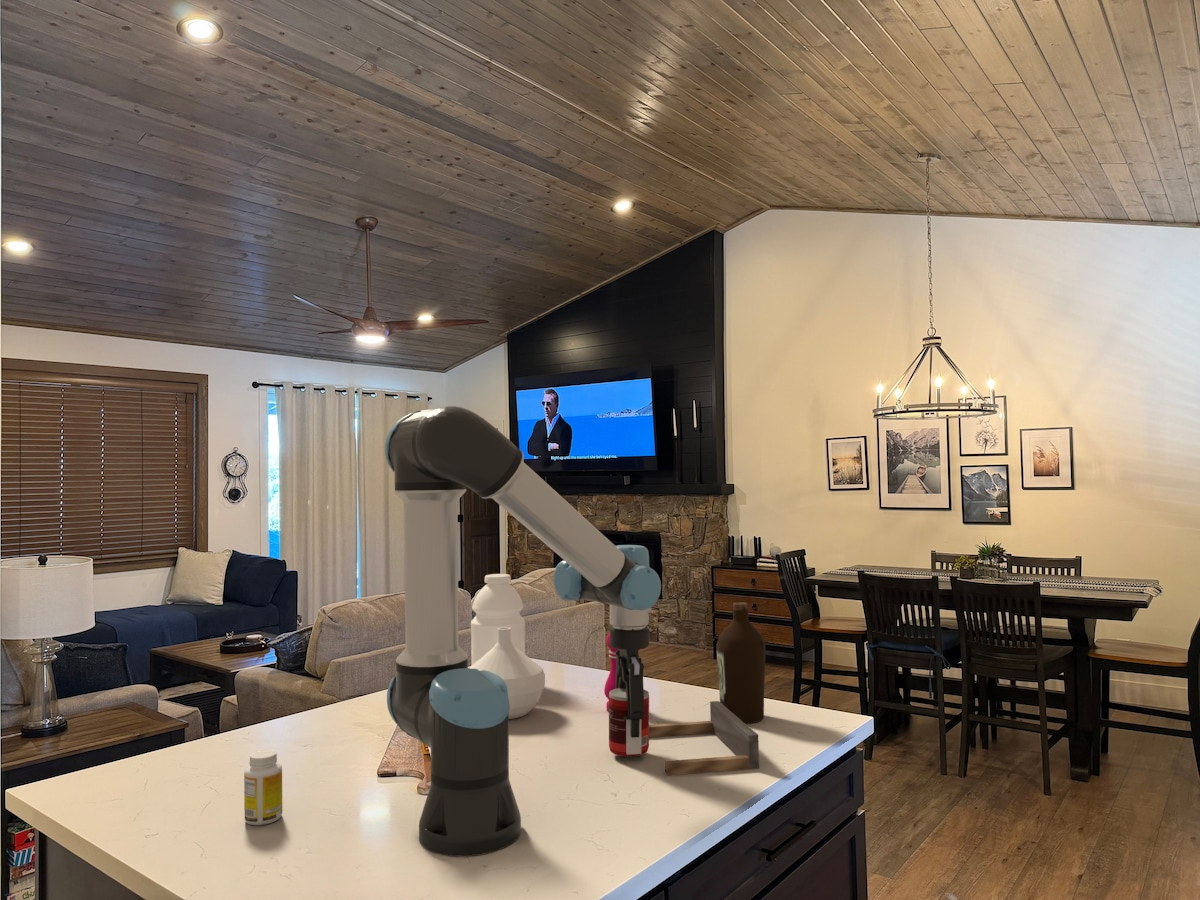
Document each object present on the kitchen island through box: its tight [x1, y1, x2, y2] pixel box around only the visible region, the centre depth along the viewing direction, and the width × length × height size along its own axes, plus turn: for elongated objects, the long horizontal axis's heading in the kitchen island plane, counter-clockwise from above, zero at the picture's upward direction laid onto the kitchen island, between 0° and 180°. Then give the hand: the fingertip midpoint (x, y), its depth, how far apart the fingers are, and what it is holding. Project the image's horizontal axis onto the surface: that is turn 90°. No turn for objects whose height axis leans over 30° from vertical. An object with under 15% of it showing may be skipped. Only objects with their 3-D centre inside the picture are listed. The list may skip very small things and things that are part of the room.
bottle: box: [470, 573, 526, 666], centre depth 213 cm, size 14×14×28 cm
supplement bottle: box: [243, 749, 283, 826], centre depth 131 cm, size 6×6×10 cm
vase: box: [468, 627, 546, 720], centre depth 188 cm, size 18×18×19 cm
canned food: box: [608, 688, 650, 758], centre depth 159 cm, size 8×8×11 cm
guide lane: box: [649, 700, 760, 776], centre depth 161 cm, size 17×23×6 cm
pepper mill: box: [603, 631, 620, 713], centre depth 189 cm, size 7×7×20 cm
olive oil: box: [716, 601, 767, 724], centre depth 183 cm, size 11×11×25 cm
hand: (628, 746), depth 159 cm, fingers closed on canned food, 8 cm apart
